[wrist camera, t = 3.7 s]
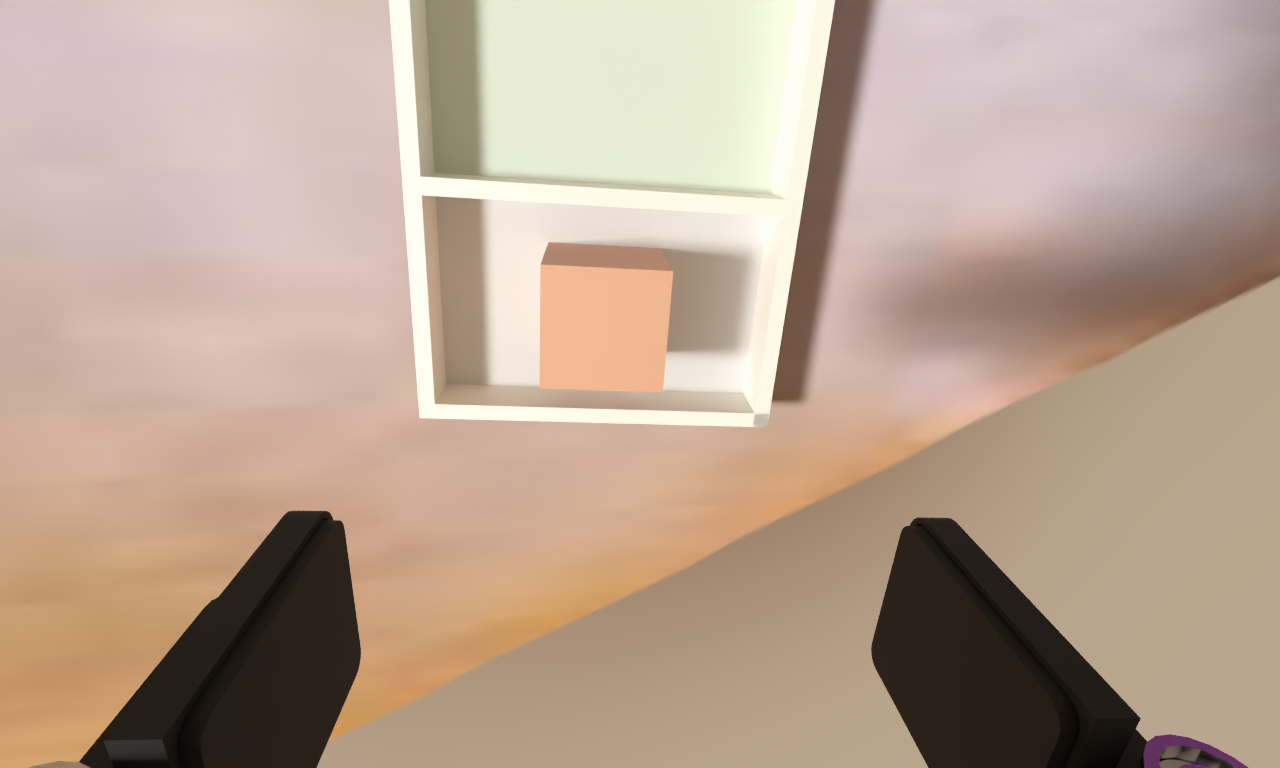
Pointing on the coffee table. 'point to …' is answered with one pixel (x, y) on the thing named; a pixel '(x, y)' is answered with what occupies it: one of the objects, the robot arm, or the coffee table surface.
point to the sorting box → (603, 188)
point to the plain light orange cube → (604, 317)
